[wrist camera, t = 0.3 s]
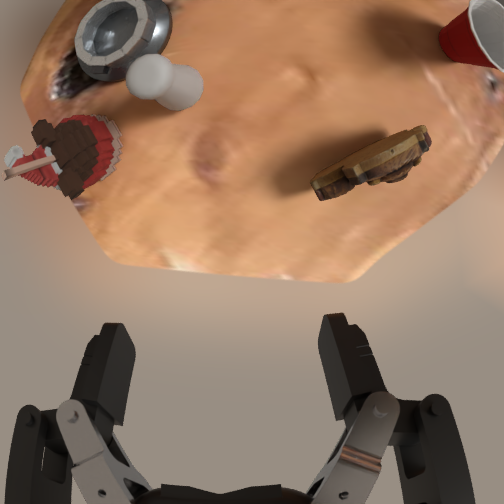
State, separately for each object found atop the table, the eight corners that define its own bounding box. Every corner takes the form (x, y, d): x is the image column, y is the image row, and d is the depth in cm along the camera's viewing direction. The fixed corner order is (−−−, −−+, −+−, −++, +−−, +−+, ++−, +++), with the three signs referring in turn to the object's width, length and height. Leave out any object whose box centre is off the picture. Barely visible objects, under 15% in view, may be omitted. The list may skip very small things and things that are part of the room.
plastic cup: (409, 25, 24) (456, 1, 13) (450, 7, 21) (496, -11, 10) (450, 89, 27) (505, 88, 17) (486, 66, 24) (537, 64, 13)
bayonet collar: (99, -2, 23) (84, -11, 19) (185, -6, 24) (176, -19, 20) (72, 80, 29) (54, 79, 25) (155, 85, 30) (141, 81, 26)
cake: (138, 158, 34) (53, 194, 18) (93, 194, 36) (10, 245, 20) (103, 98, 30) (8, 98, 14) (61, 138, 33) (-30, 163, 16)
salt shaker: (169, 117, 32) (122, 117, 20) (157, 78, 30) (107, 62, 18) (212, 102, 31) (185, 91, 19) (200, 62, 29) (168, 33, 17)
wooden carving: (321, 203, 36) (339, 231, 27) (302, 174, 35) (316, 193, 26) (417, 142, 32) (459, 152, 23) (402, 113, 30) (443, 114, 21)
